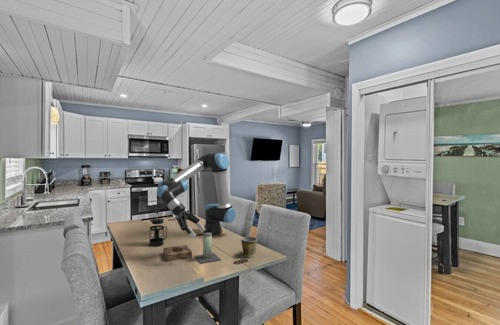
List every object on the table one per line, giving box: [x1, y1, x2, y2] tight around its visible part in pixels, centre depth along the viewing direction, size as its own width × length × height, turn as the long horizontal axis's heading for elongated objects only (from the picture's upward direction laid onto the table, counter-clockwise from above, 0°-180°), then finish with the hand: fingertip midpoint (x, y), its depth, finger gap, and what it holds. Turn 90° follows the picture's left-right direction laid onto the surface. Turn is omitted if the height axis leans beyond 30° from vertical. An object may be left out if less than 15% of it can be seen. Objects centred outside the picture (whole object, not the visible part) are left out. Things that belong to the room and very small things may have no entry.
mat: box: [194, 252, 222, 265], centre depth 148 cm, size 12×12×1 cm
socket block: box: [163, 244, 193, 262], centre depth 152 cm, size 14×14×4 cm
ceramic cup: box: [240, 236, 258, 258], centre depth 156 cm, size 13×10×10 cm
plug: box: [202, 233, 213, 259], centre depth 148 cm, size 5×5×14 cm
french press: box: [148, 210, 168, 248], centre depth 172 cm, size 12×9×23 cm
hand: (199, 234), depth 149 cm, fingers open, 13 cm apart
